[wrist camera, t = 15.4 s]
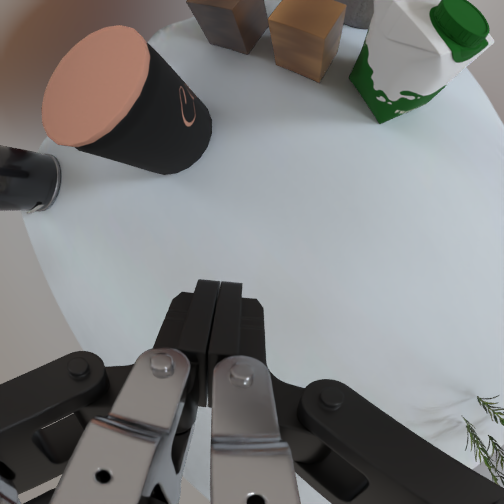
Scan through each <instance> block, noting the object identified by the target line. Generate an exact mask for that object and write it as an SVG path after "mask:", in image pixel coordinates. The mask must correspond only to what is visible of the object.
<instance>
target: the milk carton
mask: <svg viewBox="0 0 504 504" xmlns="http://www.w3.org/2000/svg"><path fill="white" fill-rule="evenodd" d="M493 43H494V40H493V38H492V37H491V36H490V34H489V25H488V23H487V21H486V19H485V17H484V16H483V15H482V13H481V12H480V11H479V10H478V9H477V8H476V7H475V6H473V5H472V4H471V3H470V2H468V1H467V0H374V14H373V17H372V20H371V23H370V26H369V29H368V32H367V35H366V38H365V41H364V44H363V47H362V50H361V52H360V55H359V57H358V59H357V61H356V63H355V65H354V67H353V70H352V72H351V74H350V76H349V79H350V80H351V82H352V83H353V85H354V86H355V87H356V89H357V90H358V92H359V93H360V95H361V96H362V98H363V99H364V101H365V102H366V104H367V105H368V107H369V108H370V110H371V111H372V113H373V114H374V116H375V118H376V119H377V121H378V122H379V124H381V123H384V122H386V121H388V120H390V119H393V118H395V117H397V116H400V115H402V114H404V113H407V112H409V111H411V110H414V109H416V108H418V107H420V106H423V105H425V104H426V103H428V102H429V101H430V100H431V99H432V98H433V97H434V96H436V95H437V94H438V93H439V92H440V91H441V90H442V89H443V88H444V87H445V86H446V85H447V84H448V83H450V82H451V81H452V80H453V79H454V78H455V77H456V76H457V75H458V74H459V73H460V72H461V71H462V70H463V69H464V68H466V67H467V66H468V65H469V64H470V63H471V62H472V61H474V60H475V59H476V58H477V57H478V56H479V55H480V54H482V53H483V52H484V51H485V50H486V49H488V48H489V47H490V46H491V45H492V44H493Z"/></svg>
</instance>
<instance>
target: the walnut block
mask: <svg viewBox="0 0 504 504" xmlns="http://www.w3.org/2000/svg"><path fill="white" fill-rule="evenodd" d="M186 3H187V4H188V6H189V8H190V9H191V11H192V13H193V15H194V16H195V18H196V20H197V22H198V23H199V25H200V27H201V29H202V30H203V32H204V34H205V36H206V37H207V39H208V41H209V43H210V44H213V45H217V46H220V47H224V48H227V49H231V50H234V51H237V52H240V53H243V54H247V55H248V54H249V53H250V51H251V50H252V48H253V47H254V46H255V44H256V43H257V41H258V40H259V38H260V37H261V36H262V34H263V33H264V31H265V30H266V29H267V27H268V26H269V24H268V18H267V13H266V8H265V3H264V0H187V1H186Z"/></svg>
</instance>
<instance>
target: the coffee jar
mask: <svg viewBox="0 0 504 504" xmlns="http://www.w3.org/2000/svg"><path fill="white" fill-rule="evenodd" d="M42 123H43V126H44V129H45V131H46V133H47V135H48V137H49V138H51V139H52V140H53V141H54V142H55V143H57V144H58V145H65V146H72V147H75V148H76V149H78V150H79V151H83V152H86V153H90V154H94V155H97V156H101V157H104V158H108V159H111V160H114V161H118V162H121V163H125V164H128V165H131V166H134V167H138V168H141V169H144V170H148V171H151V172H154V173H159V174H163V175H166V174H174V173H178V172H180V171H182V170H185V169H187V168H189V167H190V166H191V165H192V164H194V163H195V162H196V161H197V160H198V159H199V158H200V157H201V156H202V154H203V153H204V151H205V150H206V148H207V147H208V144H209V141H210V137H211V134H212V119H211V117H210V114H209V111H208V109H207V108H206V106H205V105H204V104H203V103H202V102H201V101H200V99H199V98H198V97H197V96H196V95H195V94H194V93H193V91H192V90H191V89H190V88H189V87H188V86H187V85H186V83H185V82H184V81H183V80H182V79H181V78H180V77H179V76H178V75H177V73H176V72H175V71H174V70H173V69H172V68H171V67H170V66H169V65H168V63H167V62H166V61H165V60H164V59H163V58H162V57H161V56H160V55H159V54H158V53H157V52H156V51H155V50H154V49H153V48H152V47H151V46H150V45H149V44H148V43H146V41H145V40H144V38H143V37H142V36H141V35H140V34H139V33H138V32H137V31H136V30H135V29H133V28H129V27H125V26H121V25H118V26H111V27H105V28H103V29H100V30H98V31H96V32H94V33H92V34H90V35H88V36H87V37H86V38H84V39H83V40H81V41H80V42H79V43H77V44H76V45H75V46H74V47H73V48H72V49H71V50H70V51H69V52H68V53H67V54H66V55H65V56H64V58H63V59H62V60H61V62H60V63H59V65H58V66H57V68H56V69H55V71H54V73H53V74H52V76H51V78H50V80H49V83H48V85H47V88H46V90H45V94H44V99H43V104H42Z"/></svg>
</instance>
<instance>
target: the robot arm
mask: <svg viewBox="0 0 504 504" xmlns="http://www.w3.org/2000/svg"><path fill="white" fill-rule="evenodd" d="M60 182H61V171H60V166H59V163H58V161H57V159H56V158H55V157H54V156H52V155H49V154H41V153H36V152H32V151H27V150H22V149H17V148H12V147H7V146H1V145H0V211H1V210H31V211H29V212H28V213H33V212H34V211H44V210H46V209H48V208H49V207H50V206H51V205H52V204H53V202H54V201H55V199H56V197H57V194H58V191H59V188H60ZM207 397H208V407H211V408H212V419H211V458H210V498H211V504H301V502H300V497H299V491H298V486H297V480H296V475H295V472H296V473H297V474H298V475H299V476H300V477H301V478H302V479H303V480H305V481H306V482H307V483H308V484H309V485H310V486H311V487H313V488H314V489H315V490H316V491H317V492H318V493H320V494H321V495H322V496H323V497H324V498H326V499H327V500H328V501H329V502H331V503H332V504H504V488H503V487H501V486H499V485H497V484H496V483H494V482H492V481H490V480H489V479H487V478H485V477H483V476H482V475H480V474H478V473H477V472H475V471H473V470H472V469H470V468H468V467H467V466H465V465H464V464H462V463H460V462H459V461H457V460H455V459H454V458H452V457H451V456H449V455H447V454H446V453H444V452H443V451H441V450H440V449H438V448H437V447H435V446H433V445H432V444H430V443H429V442H427V441H426V440H424V439H423V438H421V437H420V436H418V435H417V434H415V433H414V432H412V431H411V430H409V429H408V428H406V427H405V426H403V425H402V424H401V423H399V422H398V421H396V420H395V419H393V418H392V417H390V416H389V415H387V414H386V413H385V412H383V411H382V410H380V409H379V408H378V407H376V406H375V405H373V404H372V403H370V402H369V401H368V400H366V399H365V398H364V397H362V396H361V395H359V394H358V393H357V392H355V391H354V390H352V389H351V388H350V387H348V386H347V385H345V384H343V383H341V382H339V381H336V380H330V379H322V380H317V381H314V382H312V383H310V384H309V385H308V386H306V388H302V387H298V386H294V385H291V384H288V383H285V382H283V381H281V380H279V379H278V378H276V377H275V376H274V375H273V374H272V373H271V372H270V371H269V369H268V367H267V364H266V349H265V329H264V310H263V307H262V306H261V304H260V303H259V301H258V300H257V299H252V298H242V283H234V282H223V281H221V285H220V281H212V280H201V279H199V280H198V282H197V285H196V288H195V291H194V293H188V292H181V293H180V294H179V295H178V296H176V297H175V298H174V299H173V300H172V302H171V304H170V307H169V310H168V312H167V314H166V317H165V319H164V321H163V324H162V326H161V329H160V331H159V334H158V336H157V339H156V341H155V344H154V346H153V348H152V349H149V350H147V351H145V352H144V353H142V354H141V355H140V356H139V357H138V359H137V360H136V362H135V364H132V365H127V366H112V367H105V366H104V363H103V361H102V359H101V358H100V357H99V356H97V355H96V354H94V353H91V352H87V351H78V352H73V353H70V354H68V355H65V356H63V357H61V358H59V359H57V360H55V361H52V362H50V363H48V364H46V365H43V366H41V367H39V368H37V369H34V370H32V371H30V372H28V373H25V374H23V375H21V376H19V377H17V378H14V379H12V380H10V381H7V382H5V383H3V384H0V504H21V502H20V500H19V498H18V494H21V493H23V492H25V491H27V490H30V489H32V488H34V487H36V486H38V485H41V484H42V483H45V482H47V481H49V480H51V479H53V478H55V477H57V476H59V475H61V474H62V476H61V478H60V481H59V483H58V485H57V487H56V488H54V489H52V490H49V491H47V492H45V493H44V494H42V495H40V496H38V497H36V498H34V499H32V500H30V501H28V502H26V503H24V504H179V500H180V493H181V479H182V474H183V470H184V466H185V463H186V459H187V455H188V451H189V447H190V443H191V439H192V435H193V431H194V427H195V424H194V422H195V420H196V415H197V408H198V406H201V407H206V404H207ZM72 413H74V414H72ZM70 414H72V415H70ZM68 415H70V416H68ZM66 416H68V417H66ZM64 417H66V418H64ZM62 418H64V419H62ZM60 419H62V420H60ZM58 420H60V421H58ZM56 421H58V422H56ZM53 422H56V423H54V424H52V423H53ZM50 424H52V425H50ZM47 425H50V426H48V427H46V426H47ZM43 427H46V428H43ZM41 428H43V429H41Z"/></svg>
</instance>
